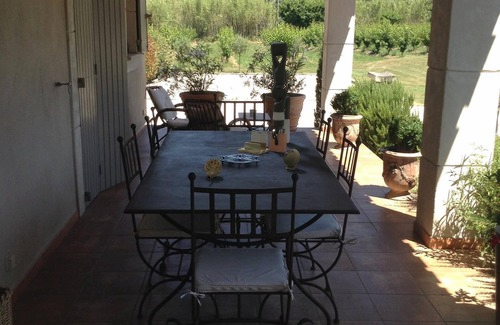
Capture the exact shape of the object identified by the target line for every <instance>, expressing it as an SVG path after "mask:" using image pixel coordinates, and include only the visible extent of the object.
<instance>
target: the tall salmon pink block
mask: <svg viewBox="0 0 500 325" xmlns="http://www.w3.org/2000/svg"><path fill="white" fill-rule="evenodd" d="M276 135H278V134H276ZM287 144H288V143H287V134H284V133H280V134H279V136H278V145H275V139H273V137H272V132H269V145H268V149H270V151H269V152H278V153H282V154H283V153H284V154H285V152H287Z"/></svg>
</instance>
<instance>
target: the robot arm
mask: <svg viewBox="0 0 500 325" xmlns="http://www.w3.org/2000/svg"><path fill="white" fill-rule="evenodd" d="M270 56H271V62H272V75H273V76H272V77H273V78H272V79H273V86H272V89H271V93H270V97H271V98H272V99H273V100H274V104H273V113H272V127H273V130H271V132H272V137H273V139H275V145H278V136H279V134H280V133H284V134H287V144H289V143H290V134H291V133H290V130H291V129H290V122H291V121H290V120H291V119H290V118H291V117H290V116H291V104H292V102H291V101H292V100H291V97H290V96H289V95H288V89H287V88H284V87H285V86H286V84H287V81H288V77H287V76H288V74H287V70H286V68H287V67H286V65H287V58H288V44H287V42H286V41H273V42H271V43H270ZM278 57H281V60H280V61H279V59H278ZM271 132H270V133H271ZM276 134H278V135H276Z"/></svg>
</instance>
